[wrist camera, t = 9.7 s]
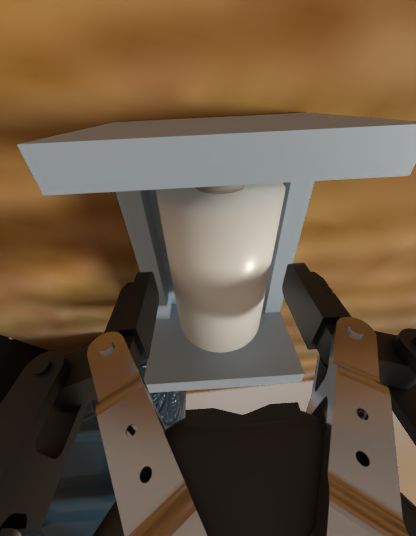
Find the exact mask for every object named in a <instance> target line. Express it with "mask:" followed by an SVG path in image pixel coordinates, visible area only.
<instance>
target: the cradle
mask: <svg viewBox="0 0 416 536" xmlns="http://www.w3.org/2000/svg"><path fill="white" fill-rule="evenodd" d="M17 146H18V148H19V150H20V152H21V153H22V155H23V157H24V159H25V161H26V163H27V165H28V167H29V169H30V171H31V172H32V174H33V176H34V178H35V180H36V182H37V184H38V186H39V188H40V190H41V192H42V193H43V195H44V196H46V195H64V194H83V193H101V192H116V195H117V198H118V202H119V205H120V208H121V211H122V215H123V218H124V221H125V224H126V228H127V231H128V234H129V237H130V241H131V244H132V247H133V250H134V254H135V257H136V260H137V263H138V267H139V270H140V272H153V273H154V277H155V281H156V285H157V288H158V292H159V305H158V311H157V316H156V322H155V327H154V333H153V338H152V344H151V349H150V355H149V359H148V360H147V365H146V371H145V376H144V381H145V383H146V386H147V388H148V390H149V392H150V393H155V392H170V391H185V390H200V389H214V388H229V387H244V386H258V385H273V384H288V383H300V382H301V381H302V379H303V377H304V375H305V373H304V370H303V368H302V366H301V363H300V361H299V358H298V356H297V353H296V351H295V348H294V346H293V343H292V341H291V338H290V336H289V333H288V331H287V329H286V326H285V324H284V321H283V319H282V316H281V314H280V309H281V306H282V302H283V298H284V296H283V292H282V285H283V280H284V276H285V272H286V268H287V265H288V264H293V260H294V257H295V253H296V249H297V245H298V242H299V238H300V234H301V230H302V227H303V223H304V219H305V215H306V211H307V208H308V204H309V200H310V196H311V193H312V189H313V185H314V181H322V180H340V179H359V178H377V177H396V176H409V175H410V173H411V171H412V169H413V167H414V166H415V164H416V121H405V120H393V119H380V118H368V117H356V116H343V115H331V114H318V113H287V114H267V115H247V116H227V117H207V118H187V119H167V120H147V121H126V122H112V123H108V124H104V125H99V126H95V127H91V128H86V129H82V130H78V131H73V132H69V133H64V134H60V135H56V136H51V137H47V138H43V139H38V140H34V141H30V142H25V143H21V144H17ZM267 183H283V184H284V185H285V188H286V189H285V195H284V200H283V205H282V211H281V216H280V221H279V226H278V231H277V236H276V241H275V247H274V252H273V257H272V262H271V267H270V272H269V277H268V282H267V288H266V293H265V298H264V303H263V308H262V313H261V318H260V324H259V328H258V331H257V333H256V335H255V337H254V338H253V339H252V340H251V341H250V342H249V343H248V344H247V345H245V346H244V347H242V348H240V349H237V350H234V351H230V352H223V353H218V352H210V351H206V350H203V349H201V348H199V347H197V346H195V345H194V344H192V343H191V342H190V341H189V340H188V339H187V338H186V337H185V335H184V334H183V332H182V329H181V326H180V321H179V316H178V310H177V305H176V299H175V294H174V288H173V283H172V277H171V272H170V266H169V261H168V255H167V250H166V244H165V239H164V234H163V228H162V223H161V217H160V212H159V206H158V201H157V195H156V189H175V188H193V187H212V186H230V185H248V184H267Z"/></svg>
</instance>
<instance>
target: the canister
mask: <svg viewBox="0 0 416 536" xmlns="http://www.w3.org/2000/svg"><path fill="white" fill-rule="evenodd" d="M92 342H93V341H92ZM92 342H90V343H88V344H87V345H86V346H84V347H83V348H82V350H84V349H86V348H88V347H89V346H90V344H91V343H92ZM147 360H148V359H145V360H141V364H140V368H139V370H140V372H141V374H142V376H143V379H144V376H145V371H146V365H147ZM150 395H151V397H152V399H153V401H154V404H155V406H156V408H157V410H158V412H159V415H160V417H161V419H162V421H163V423H164V426H165V428H166V429H167V428H168V427H170V426H171V425H172V424H174V423H175V422H177V421H179V420H181V419H183V418H185V404H186V390H185V391H170V392H155V393H150ZM97 403H98V398H97V399H95V400H93V401H90V402H89V404H88V406H87V409H86V412H85V414H84V417H83V420H82V422H81V425H80V427H79V430H78V433H77V435H76V438H75V441H74V443H73V446H72V448H71V451H70V454H69V456H68V459H67V462H66V464H65V467H64V470H63V472H62V475H61V477H60V480H59V483H58V485H57V488H56V491H55V493H54V496H53V498H52V501H51V504H50V506H49V509H48V512H47V514H46V517H45V520H44V522H43V525H42V527H41V530H40V532H42V534H43V535H44V536H93V534H94V533H95V531H96V529H97V528H98V526H99V525H100V523H101V522H102V520H103V519H104V517H105V516H106V514H107V513H108V511H109V510H110V508H111V507H112V505H113V504H114V502H115V501H116V497H115V493H114V488H113V484H112V480H111V475H110V471H109V467H108V463H107V458H106V454H105V450H104V445H103V441H102V437H101V432H100V428H99V424H98V419H97V415H96V404H97Z"/></svg>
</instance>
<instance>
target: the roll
mask: <svg viewBox="0 0 416 536" xmlns="http://www.w3.org/2000/svg"><path fill="white" fill-rule="evenodd" d="M285 189H286V188H285V185H284V184H283V183H267V184H248V185H230V186H212V187H193V188H175V189H156V195H157V201H158V206H159V212H160V217H161V223H162V228H163V234H164V239H165V244H166V250H167V255H168V261H169V266H170V272H171V277H172V283H173V288H174V294H175V299H176V305H177V310H178V316H179V321H180V326H181V329H182V332H183V334H184V335H185V337H186V338H187V339H188V340H189V341H190V342H191V343H192V344H194V345H195V346H197V347H199V348H201V349H203V350H206V351H210V352H218V353H223V352H230V351H234V350H237V349H240V348H242V347H244V346H245V345H247V344H248V343H249V342H250V341H251V340H252V339H253V338H254V337H255V335H256V333H257V331H258V328H259V324H260V318H261V313H262V308H263V303H264V298H265V293H266V288H267V282H268V277H269V272H270V267H271V262H272V257H273V252H274V247H275V241H276V236H277V231H278V226H279V221H280V216H281V211H282V205H283V200H284V195H285Z"/></svg>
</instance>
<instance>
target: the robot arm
mask: <svg viewBox="0 0 416 536" xmlns="http://www.w3.org/2000/svg"><path fill="white" fill-rule="evenodd" d="M282 292H283V296H284V298H285V300H286V303H287V305H288V307H289V309H290V311H291V313H292V316H293V318H294V320H295V322H296V324H297V327H298V329H299V331H300V333H301V335H302V337H303V340H304V342H305V344H306V346H307V348H308V350H309V349H317V350H318V352H319V356H318V358H317V364H316V371H315V377H314V383H313V389H312V395H311V398H310V401H309V404H308V407H307V411H306V412H303V411H300V408H299V405H298V403H297V402H296V403H281V404H270V405H267V406H265V407H262V408H260V409H257V410H255V411H253V412H250V413H247V414H244V415H240V414H236V413H232V412H227V411H223V410H219V409H214V408H209V409H195V410H185V418H183V419H181V420H179V421H177V422H175V423H174V424H172V425H171V426H170V427H168V428H167V429H166V428H165V426H164V423H163V421H162V419H161V417H160V415H159V412H158V410H157V408H156V406H155V404H154V401H153V399H152V397H151V395H150V392H149V390H148V388H147V386H146V383H145V381H144V379H143V376H142V374H141V372H140V370H139V368H140V364H141V360H145V359H149V355H150V349H151V344H152V338H153V333H154V327H155V322H156V316H157V311H158V305H159V292H158V288H157V285H156V281H155V277H154V273H153V272H138V273H137V275H136V278H135V281H134V282H131V283H127V284H126V285H125V287H124V288H123V289H122V290H121V292H120V295H119V297H118V300H117V302H116V306H115V307H114V310H113V312H112V315H111V317H110V320H109V322H108V325H107V327H106V330H105V332H104V334H102V335H100V336H98V337H97V338H96V339H95V340H93V342H92V343H91V344H90V346H89V347H88V348H86V349H84V350H81V351H78V352H75V353H72V354H70V355H67V356H64V355H63V354H62V353H61V352H59V351H48V352H45V353H42V354H40V355H39V356H37V357H35V358H34V359H33V360H32V361H30V362H29V363H28V364H27V366H26V367H25V368H24V370H23V371H22V373H21V374H20V375H19V377H18V378H17V380H16V381H15V383H14V384H13V386H12V387H11V389H10V390H9V392H8V393H7V395H6V396H5V398H4V399H3V401H2V402H1V404H0V536H44V535H43V534H42V532H40V530H41V527H42V525H43V522H44V520H45V517H46V514H47V512H48V509H49V506H50V504H51V501H52V498H53V496H54V493H55V491H56V488H57V485H58V483H59V480H60V477H61V475H62V472H63V470H64V467H65V464H66V462H67V459H68V456H69V454H70V451H71V448H72V446H73V443H74V441H75V438H76V435H77V433H78V430H79V427H80V425H81V422H82V420H83V417H84V414H85V412H86V409H87V406H88V404H89V402H90V401H93V400H95V399H97V398H98V403H97V404H96V415H97V419H98V424H99V428H100V432H101V437H102V441H103V445H104V450H105V454H106V458H107V463H108V467H109V471H110V475H111V480H112V484H113V488H114V493H115V497H116V501H115V502H114V504H113V505H112V507H111V508H110V510H109V511H108V513H107V514H106V516H105V517H104V519H103V520H102V522H101V523H100V525H99V526H98V528H97V529H96V531H95V533H94V534H93V536H416V506H414V505H413V503H412V502H410V501H409V500H408V499H407V498H406V497H405V496H404V495H403V494H402V493H401V492H400V487H399V477H398V466H397V456H396V446H395V436H394V426H393V416H392V411H393V412H394V414H395V415H396V417H397V418H398V420H399V421H400V423H401V424H402V426H403V427H404V429H405V430H406V432H407V433H408V435H409V436H410V438H411V439H412V441H413V442H414V444H415V445H416V329H404V330H402V331H401V332H400V333H399V334H398V335H392V334H387V333H382V332H377V331H374V330H373V329H372V328H371V327H370V326H369V325H368V324H367V323H365V322H363V321H362V320H360V319H357V318H354V317H351V316H350V314H349V313H348V311H347V310H346V309H345V307H344V306H343V305H342V303H341V302H340V301H339V299H338V298H337V296H336V295H335V294H334V293H333V291H332V290H331V288H330V287H329V285H328V284H327V283H326V281H325V280H324V279H323V278H322V277H321V276H319V275H318V274H317V273H315V272H310V270H309V269H308V268H307V266H306V265H305V264H304V263H294V264H288V265H287V268H286V272H285V276H284V280H283V285H282Z"/></svg>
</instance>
